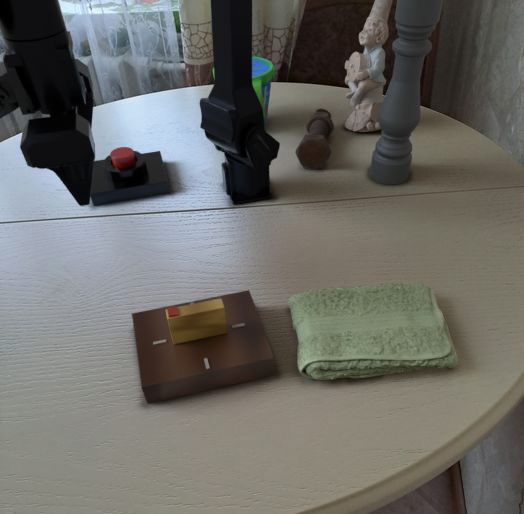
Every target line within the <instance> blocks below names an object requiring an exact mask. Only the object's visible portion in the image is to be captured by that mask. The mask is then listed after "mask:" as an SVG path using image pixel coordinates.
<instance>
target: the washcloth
mask: <svg viewBox="0 0 524 514" xmlns="http://www.w3.org/2000/svg"><path fill="white" fill-rule="evenodd" d="M435 295H436V294H435V289H434V287H432V286H428V285H425V284H424V283H421V284H420V283H406V282H405V283H402V282H392V283H387V284H383V283H381V284H380V285H379V284H375V285H366V286H363V285H362V286H357V287H355V286H352V287H342V288H336V287H330V288H328V289H327V288H323V289H316V290H309V289H308V290H305V291H304V292H299V293H295V294H293V295H292V296H291V297H290V298H289V299H288V307H289V309H290V316H291V320H292V329H294V331H295V333H296V336H297V342H298V345H297V353H296V354H297V369H298V372H299V373H300V375H301V376H303V377H305V378H309V379H313V380H314V379H315V380H318V381H320V380H322V381H325V380H326V381H327V380H336V379H337V378H340V379H342V378H343V379H346V378H350V379H365V378H372V377H376V376H377V377H378V376H383V375H390V374H391V375H392V374H397V373H409V372H414V371H420V370H421V371H422V370H426V369H428V368H430V369H439V368H440V369H442V368H447V369H448V368H449V369H450V370H451V369H453V368H456V367H458V363H459V360H458V355H457V353H456V350H455V349H454V345H453V341H452V337H451V335H450V331H449V326H448V324H447V322H446V320H445V317H444V314H443V312H442V310H441V309H440V308H439V306H438V303H437V300H436V297H435Z"/></svg>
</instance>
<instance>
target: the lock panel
mask: <svg viewBox="0 0 524 514" xmlns="http://www.w3.org/2000/svg"><path fill="white" fill-rule="evenodd" d="M250 291H251V290H249V289H248V290H242V291H237V292H232V293H228V294H223V295H222V294H221V295H218V296H212V297H208V298H203V299H198V300H192V301H188V302H187V301H186V302H181V303H177V304H173V305H168V306H162V307H157V308H153V309H148V310H142V311H137V312H133V313H132V312H131V319H132V327H133V333H134V334H133V335H134V342H135V351H136V357H137V366H138V372H139V378H140V379H139V381H140V388H141V391H142V393H143V396H144V398H145V399H144V400H145V402H146V404H152V403H156V402H160V401H165V400H170V399H174V398H178V397H182V396H187V395H193V394H195V393H201V392H204V391H210V390H214V389H218V388H223V387H226V386H231V385H235V384H239V383H245V382H250V381H254V380H258V379H263V378H266V377H271V376H274V375H275V356H274V353H273V351H272V348H271V346H270V342H269V340H268V337H267V334H266V332H265V329H264V327H263V323H262V321H261V318H260V315H259V313H258V310H257V307H256V305H255V302H254V299H253V296H252V293H251V292H250ZM220 298H221V299H222V301H223V305H224V309H225V317H226V325H227V333H225V334H221V335H216V336H211V337H207V338H202V339H197V340H192V341H188V342H183V343H178V344H173V340H172V336H171V332H170V328H169V324H168V320H167V315H166V309H167V308H171V307H176V306H177V307H180V306H185V305H190V304H195V303H200V302H205V301H210V300H215V299H220Z"/></svg>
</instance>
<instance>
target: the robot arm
mask: <svg viewBox="0 0 524 514" xmlns="http://www.w3.org/2000/svg"><path fill="white" fill-rule="evenodd" d="M210 15H211V17H210V19H211V35H212V37H211V38H212V56H213V57H212V58H213V59H212V60H213V68H214V76H213V81H214V83H213V86H212V88H211V90H210V92H209V94H208V96H207V97H201V98H200V99H199V109H200V114H201V121H200V125H199V128H200V129H202V130H203V131H204V136H205V138H206V139H208V141H210V142H211V143H212V144H213V146H214V148H215V150H216V151H218V152H221V153H223V156H224V157H223V158H224V162H221V175H222V185H223V189H224V191H225V195H226V196H228V197H229V199H230V201H231V204H233V205H239V204H240V205H241V204H245V203H251V202H257V201H258V202H259V201H263V200H269V199H273V198H274V193H273V191H272V189H271V179H270V178H271V177H270V166H271V165H272V162H273V161H274V160H276V159H277V158H278V154H279V151H280V146H281V143H280V141H278V140H277V139H276V138H274V137H273V135H271V134H270V133H269V132H267V130H266V125H265V124H264V114H263V108H262V105H261V103H260V101H259V98H258V96H257V94H256V92H255V89H254V87H253V84H252V56H253V0H210ZM67 29H68V28H67V26H66V23H65V19H64V15H63V12H62V9H61V5H60V2H59V0H0V33H1V36H2V39H3V42H4V44H5V47H6V48H5V52H4V54H3V56H2V61H0V120H1V119H2V118H4V117H6V116H7V115H10V114H11V113H13V112H15V111H16V110H18V109H19V110H20V112H21V115H22V116H27V115H34V114H36V113H37V112H40V114H41V115H43V116H45V117H39V118H29V119H28V120H27V122H26V123H25V125H24V127H23V129H22V132H21V138H20V143H19V144H20V145H19V149H20V152H21V154H22V156H23V158H24V160H25V163H26V166H27V167H30V168H32V169H40V170H44V169H45V170H49V171H51V172H53V173H54V174H55V175H56V177H58V178H59V180H60V181H61V183H62V184H63V185H64V187H65V188H66V189H67V190H68V192H69V193H70V195H71V196H72V198H73V199H74V200H75V202H76V203H77V205H78V206H80V207H84V206H85V207H86V206H90V204H91V187H92V178H93V170H94V161H96V143H95V140H94V136H93V135H94V134H93V131H92V129H93V118H94V117H93V114H94V103H95V102H94V88H93V87H94V84H93V83H94V82H93V80H92V76H91V73H90V69H89V66H88V65H87V64H86V63H84V62H83V61H81V60H80V59H78V58H75V57H76V56H75V54H74V51H73V50H74V42H73V37H72V33H71V31H70V30H67ZM47 115H49V116H47Z"/></svg>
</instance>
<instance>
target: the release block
mask: <svg viewBox="0 0 524 514" xmlns="http://www.w3.org/2000/svg"><path fill="white" fill-rule="evenodd" d="M133 151H134V155H135V159H136V163H135V164H134V165H131V166H129V167H124V168H118V167H114V166H113V163H112V159H111V156H110V154H109V155H107V156H106V157H105V158H103V159H97V160H95V161H94V170H93V178H92V187H91V197H90V201H91V202H92V206H93V207H98V206H103V205H110V204H116V203H121V202H122V203H123V202H127V201H133V200H140V199H146V198H152V197H157V196H158V197H159V196H164V195H170V194H171V189H170V185H169V180H168V175H167V171H166V168H165V164H164V160H163V156H162V153H161V151H160V150H157V151H149V152H140V151H137V150H133Z"/></svg>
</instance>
